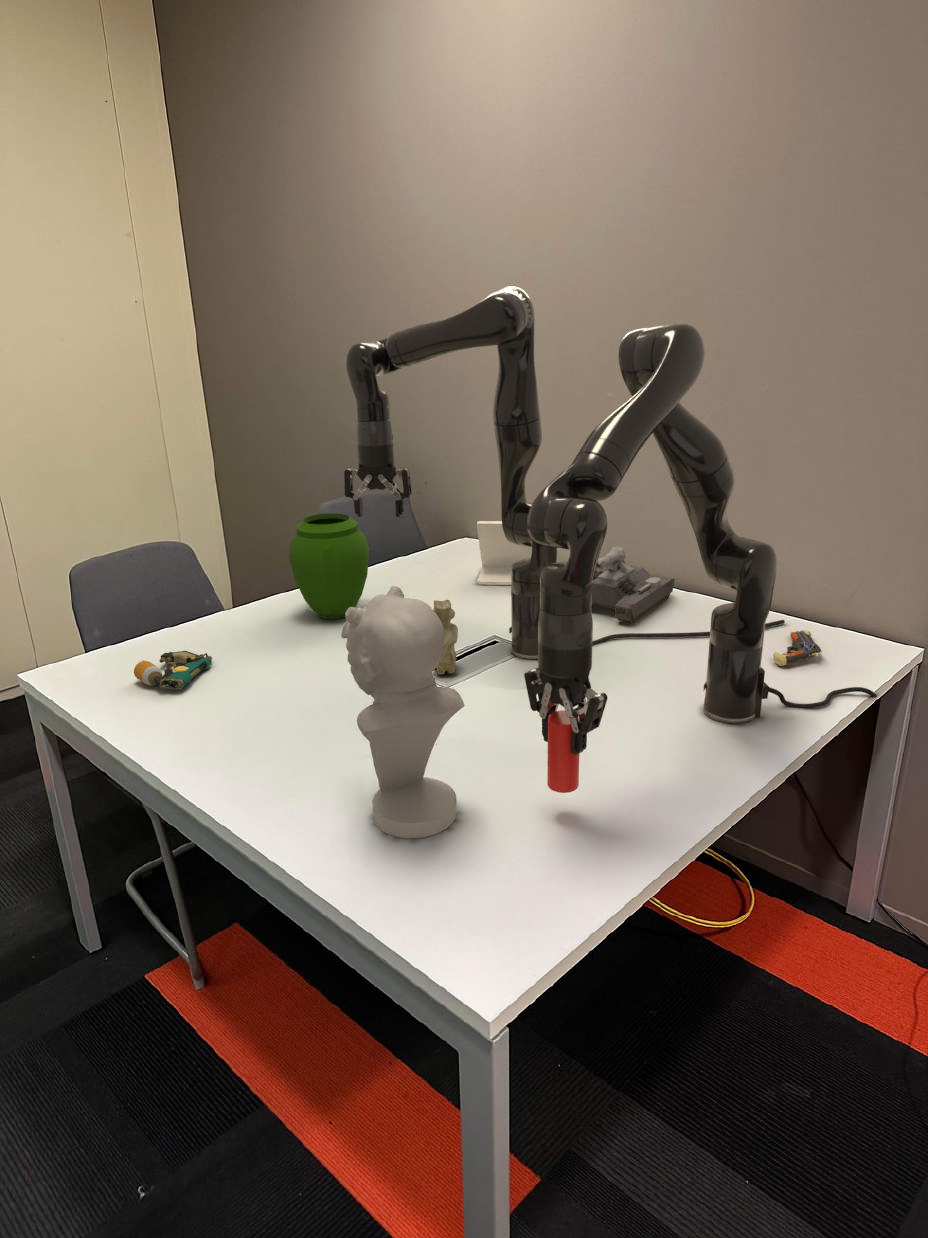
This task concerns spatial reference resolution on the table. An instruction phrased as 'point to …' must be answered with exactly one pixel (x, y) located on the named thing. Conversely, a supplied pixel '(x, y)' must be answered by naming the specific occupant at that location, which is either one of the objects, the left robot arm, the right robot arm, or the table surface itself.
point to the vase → (329, 563)
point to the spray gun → (172, 669)
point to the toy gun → (798, 649)
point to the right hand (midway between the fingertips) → (563, 745)
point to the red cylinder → (561, 755)
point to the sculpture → (447, 636)
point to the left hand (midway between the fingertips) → (379, 516)
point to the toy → (627, 587)
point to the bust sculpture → (402, 709)
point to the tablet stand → (502, 554)
